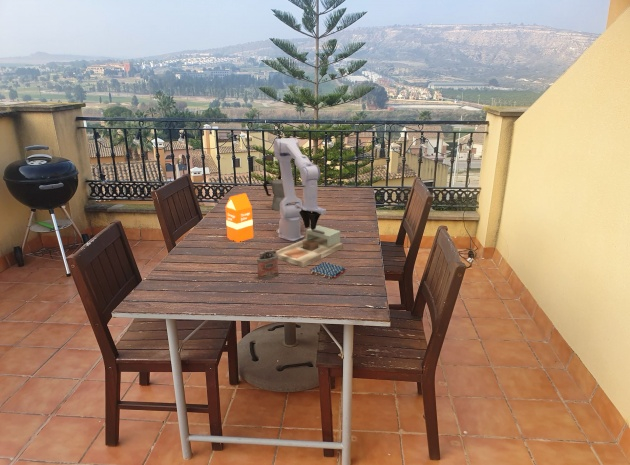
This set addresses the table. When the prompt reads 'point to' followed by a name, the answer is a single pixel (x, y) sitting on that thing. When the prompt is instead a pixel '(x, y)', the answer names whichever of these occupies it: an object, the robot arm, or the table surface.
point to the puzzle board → (307, 252)
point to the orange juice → (239, 218)
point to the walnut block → (310, 245)
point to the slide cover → (324, 234)
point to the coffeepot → (275, 192)
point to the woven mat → (328, 270)
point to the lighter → (267, 264)
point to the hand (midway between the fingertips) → (310, 228)
